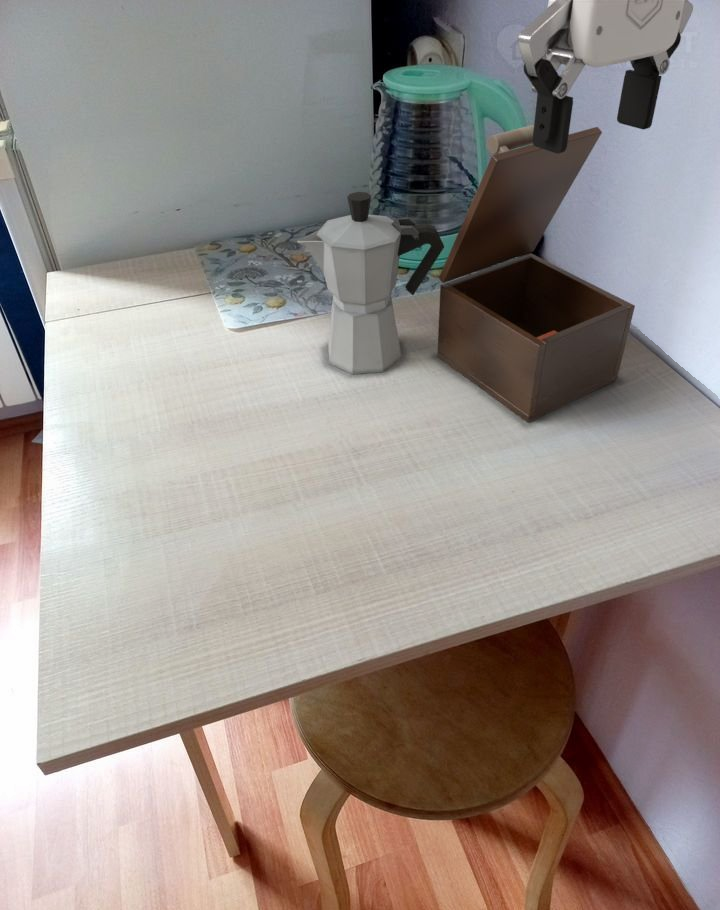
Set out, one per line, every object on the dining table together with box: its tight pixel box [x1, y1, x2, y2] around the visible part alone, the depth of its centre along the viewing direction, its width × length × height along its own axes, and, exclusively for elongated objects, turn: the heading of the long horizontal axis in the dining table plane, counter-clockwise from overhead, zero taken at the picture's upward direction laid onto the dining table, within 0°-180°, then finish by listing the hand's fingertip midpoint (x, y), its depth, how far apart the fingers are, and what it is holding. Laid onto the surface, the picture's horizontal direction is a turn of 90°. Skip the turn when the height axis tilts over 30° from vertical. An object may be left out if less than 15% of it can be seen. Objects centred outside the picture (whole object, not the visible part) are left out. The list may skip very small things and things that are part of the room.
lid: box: [438, 124, 603, 284], centre depth 69 cm, size 15×13×5 cm
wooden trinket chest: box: [436, 252, 636, 423], centre depth 74 cm, size 15×13×9 cm
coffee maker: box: [296, 191, 445, 375], centre depth 74 cm, size 15×9×18 cm, turn 95°
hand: (592, 136), depth 58 cm, fingers open, 9 cm apart
